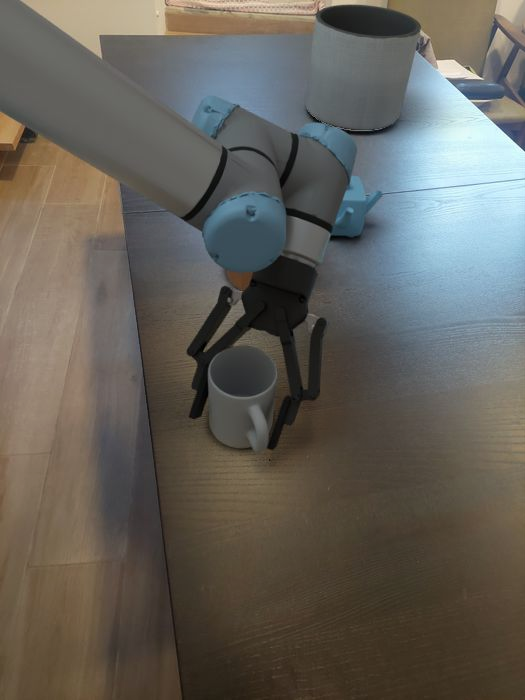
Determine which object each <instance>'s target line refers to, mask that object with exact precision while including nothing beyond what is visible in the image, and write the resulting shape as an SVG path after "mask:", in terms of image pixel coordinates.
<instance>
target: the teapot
mask: <svg viewBox="0 0 525 700" xmlns="http://www.w3.org/2000/svg"><path fill="white" fill-rule="evenodd" d="M383 196H384V192H383V191H382V190H379V189H376V190H375V191H373V192H372V193H370V194H369V195H366V191H365V187H364V185H363V182H362V180H361V177H360V176H358V175H351V181H350V184H349V186H348V187H347V189H346V192H345V195H344V198H343V200H342V203H341V206H340V209H339V212H338V215H337V217H336V220H335V223H334V226H333V229H332V232H331V236H346V237H348V238H354V237H355V236H356V237H357V236H360V235H361V234H362V232H363V228H364V224H365V219H366V215H367V214H368V213H369V212H370V211H371V210H372V209H373V207H374V206H375V205H376V204H377V203H378V201H379V200H380V199H381V198H382V197H383Z"/></svg>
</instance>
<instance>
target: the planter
mask: <svg viewBox="0 0 525 700" xmlns="http://www.w3.org/2000/svg"><path fill="white" fill-rule="evenodd" d="M421 30H422V25H421V23H420V22H419V21H418V20H417V19H416V18H414V17H413V16H411V15H408V14H406V13H404V12H401V11H399V10H395V9H392V8H386V7H382V6H377V5H367V4H336V5H331V6H327V7H324V8H322V9H321V8H320V10H319V11H317V12H316V14H315V19H314V27H313V35H312V43H311V51H310V57H309V58H310V59H309V65H308V73H307V74H308V75H307V81H306V91H305V96H304V106H305V105H306V107H305V109H306V108H307V109H308V111H309V112H310V113H311V114H312V115H313V116H315V117H316V118H317V119H318V120H320V121H322V122H324V123H326V124H329V125H332V126H334V127H340V128H344V129H351V130H375V129H380V128H384V127H387V126H389V125H391V124H392V123H394V122H395V121H396V120H397V119H398V120H399V118H400V115H401V113H402V109H403V105H404V100H405V97H406V93H407V88H408V84H409V81H410V75H411V71H412V67H413V63H414V60H415V55H416V51H417V46H418V43H419V38H420V35H421V32H422V31H421ZM308 111H307V112H308ZM313 119H314V120H316V119H315V118H313ZM318 120H316V121H317V122H318V123H322V122H320V121H318ZM398 120H397V121H398ZM397 121H396V122H397ZM396 122H395V123H396ZM324 123H323V124H324ZM395 123H394V124H395ZM329 125H328V126H329ZM392 125H393V124H392ZM392 125H391V126H392ZM332 126H330V127H332ZM389 127H390V126H389ZM387 128H388V127H387ZM344 129H341V130H343V131H344V132H349V133H372V132H377V131H381V130H383V129H380V130H375V131H350V130H344ZM384 129H385V128H384Z"/></svg>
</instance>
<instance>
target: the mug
mask: <svg viewBox="0 0 525 700" xmlns="http://www.w3.org/2000/svg"><path fill="white" fill-rule="evenodd" d="M278 371H279V370H278V368H277V364H276V362H275V360H274V358H272V356H271V355H270V354H269V353H267V352H266V351H265V350H262V349H260V348H258V347H255V346H251V345H244V344H243V345H232V346H231V347H229V348H226V349H224V350H222V351H221V352H219V353H218V354H217V355H216V356H215V357H214V358H213V359H212V361H211V362H210V365H209V369H208V393H209V395H208V423H209V428H210V432H211V433H212V435H213V437H215V439H217V441H219V442H220V443H222V444H223V445H225V446H227V447H230V448H234V449H248V448H251V449H252V450H253V452H254V453H256V454H262V453H264V452H266V451H267V446H268V443H269V440H270V437H269V436H270V435H269V434H270V432H271V430H272V426H273V419H274V408H275V403H276V401H275V400H276V393H277V386H278V379H279V377H278V376H279V372H278Z"/></svg>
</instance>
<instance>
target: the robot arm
mask: <svg viewBox="0 0 525 700" xmlns="http://www.w3.org/2000/svg"><path fill="white" fill-rule="evenodd" d="M0 113H2V114H3V115H5V116H7V117H9V118H10V119H12V120H14V121H15V122H17V123H19V124H20V125H22V126H23V127H25V128H27V129H29V130H31V131H32V132H34V133H35V134H37V135H39V136H41V137H42V138H44V139H46V140H47V141H49V142H50V143H52V144H54V145H56V146H57V147H59V148H61V149H63V150H64V151H66V152H67V153H69V154H71V155H73V156H75V157H76V158H78V159H80V160H81V161H83V163H85V164H88V165H89V166H91V167H92V168H95V169H96V170H98V171H100V172H102V173H103V174H105V175H106V176H108V177H109V178H111V179H113V180H115V181H116V182H118V183H120V184H122V185H123V186H125V187H127V188H128V189H130V190H132V191H134V192H135V193H137V194H139V195H140V196H142V197H143V198H145V199H147V200H148V201H150V202H151V203H154V204H155V205H157V206H158V207H160V208H162V209H164V210H166V211H167V212H169V213H171V214H172V215H174V216H175V217H177V218H179V219H180V220H182V221H184V222H185V223H186V224H188V225H189V226H192V227H193V228H195V229H196V230H198V231H199V232H201V237H202V239H203V242H204V247H205V250H206V251H207V254H208V255H209V257H210V258H211V260H212V261H213V262H214V263H215V264H216V265H217V266H218V267H219V268H222V269H224V270H225V271H226V270H229V271H232V272H238V273H250V272H253V274H252V277H251V280H250V284H249V286H248V287H247V288H246V289H245V290H244V291H241V290H239V289H234V288H233V287H230V286H228V285H223V286H221V287H220V290H219V294H218V297H217V302H216V303H215V305H214V307H213V309H212V310H211V311H210V313H209V315H208V316H207V317H206V319H205V320H204V322H203V324H202V326H201V327H200V328H199V330H198V331H197V333H196V335H195V336H194V338H193V340H192V341H191V342H190V344H189V346H188V347H187V349H186V355H187V356H189V357H191V358H192V359H193V360H194V361H196V369H195V373H194V376H193V378H192V381H191V390H193V391H196V392H195V394H194V395H195V396H194V398H193V402H192V405H191V408H190V411H189V414H188V418H189V419H192V420H196V419H199V418H201V417H202V416H203V413H204V410H205V406H206V403H207V401H208V399H209V393H208V369H209V365H210V362H211V361H212V359H213V358H214V357H215V356H216V355H217V354H218V353H219V352H221V351H222V350H224V349H226V348H229V347H233V346H234V344H236V342H238V341H239V340H240V339H241V338H242V337H243V336H244V335H245V334H247V333H248V332H250V330H252V329H253V330H256V331H261V332H266V333H267V334H269V335H270V336H273V337H277V338H279V343H280V345H281V349H282V354H283V359H284V365H285V370H286V376H287V380H288V387H289V392H290V395H289V394H288V395H285V396H284V397H283V398H282V402H281V405H280V408H279V410H278V414H277V417H276V419H275V422H274V426H273V429H272V431H271V434H270V437H269V439H268V446H267V448H266V450H270V451H274V450H275V449H276V448H277V447H278V445H279V442H280V440H281V439H280V438H281V436H282V433H283V430H284V427H285V426H288V427H291V426H292V425H293V424H294V423H295V422H296V419H297V416H298V413H299V410H300V407H301V405H302V402H303V401H310V402H314V401H316V400H317V399H318V398H319V397H320V394H321V379H322V364H323V363H322V362H323V361H322V360H323V343H324V338H325V337H324V336H325V335H326V332H327V329H328V327H329V321H328V319H326V318H325V317H319V316H317V315H315V314H312V313H309V302H310V299H311V295H312V292H313V290H314V287H315V284H316V280H317V278H318V275H319V273H318V271H317V269H316V267H319V266H321V265H322V264H323V261H324V257H325V254H326V251H327V248H328V245H329V242H330V239H331V236H332V235H331V232H332V229H333V226H334V223H335V220H336V217H337V215H338V212H339V209H340V206H341V203H342V200H343V198H344V195H345V192H346V189H347V187H348V186H349V184H350V181H351V176H353V171H354V167H355V164H356V159H357V155H358V145H357V143H356V141H355V139H354V138H353V137H352V136H351V135H350V134H349V133H347V131H343V130H341V129H339V128H336V127H330V126H328V125H326V124H323V123H320V122H308V123H305V124H303V125H302V126H301V127H300V128H299V131H298V133H294V132H291V131H289V130H288V129H285V128H283V127H281V126H279V125H277V124H275V123H273V122H271V121H269V120H267V119H265V118H263V117H261V116H259V115H257V114H256V113H254V112H251V111H249V110H247V109H245V108H243V107H241V105H240V104H238V103H233V102H232V101H231V102H230V101H228V100H226V99H223V98H221V97H218V96H216V95H207V96H205V97H203V99H201V101H200V103H199V104H198V106H197V107H196V110H195V112H194V115H193V117H192V120H191V121H189V120H188V119H187V118H185V117H184V116H182V115H181V114H179V113H178V112H177V111H175V110H174V109H172V107H170V106H169V105H167V104H165V102H163V101H162V100H160V99H158V98H157V97H156V96H154V95H153V94H152V93H150V92H149V91H148V90H146V89H145V88H143V87H142V86H140V85H139V84H137V83H136V82H135V81H133V80H132V79H130V78H129V77H128V76H127V75H125V74H124V73H122V72H121V71H120V70H119V69H117V68H115V67H114V66H112V65H111V64H110V63H108V61H106V60H105V59H103V58H102V57H100V56H99V55H98V54H96V53H95V52H94V51H92V50H91V49H89V48H87V47H86V46H85V45H84V44H82V43H81V42H80V41H78V40H76V39H75V38H74V37H73V36H71V35H70V34H68V33H67V32H66V31H64V30H63V29H61V28H60V27H59V26H57V25H55V24H54V23H53V22H52V21H50V20H49V19H48V18H46V17H44V16H43V15H42V14H40V13H39V12H38V11H36V10H35V9H33V8H32V7H30V6H29V5H27V4H26V3H25V2H24V1H22V0H0ZM239 301H241V304H242V306H243V309H244V314H243V315H242V316H241V317H240V318H238V320H237V321H235V323H234V324H233V326H231V327H230V328H229V329H228V330H226V332H224V334H223V335H222V336H221V337H219V339H218V340H217V341H215V342H214V343H213V344H212V345H211V346H210V347H209V348H208V349H207V347H208V344H210V342H211V341H212V339H213V337H214V336H215V335H216V333H217V331H218V329H220V327H221V325H222V323H223V322H224V320H225V319H226V317H227V316H228V314H229V313H230V311H231V309H232V307H235V306H237V304H238V302H239ZM305 322H306V323H307V332H309V333H310V340H309V352H308V354H309V355H308V358H309V359H308V372H307V373H308V374H307V388H304V384H303V380H302V379H303V378H302V374H301V373H302V372H301V370H300V369H301V368H300V363H299V358H298V353H297V347H296V337H295V332H294V329H296V328H297V327H299V326H300V325H302V324H303V323H305ZM205 349H206V351H205Z"/></svg>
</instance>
